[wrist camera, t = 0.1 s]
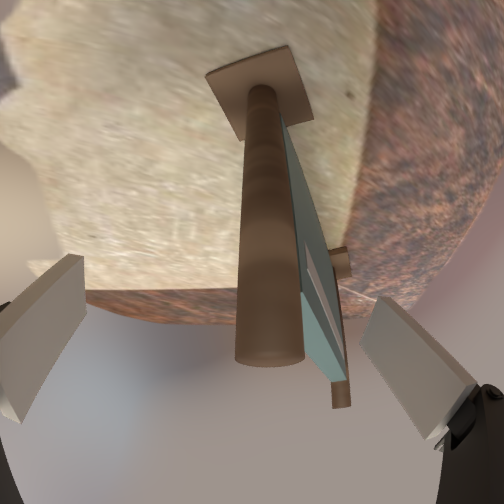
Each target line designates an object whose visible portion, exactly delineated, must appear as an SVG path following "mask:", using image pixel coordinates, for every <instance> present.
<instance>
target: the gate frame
mask: <svg viewBox="0 0 504 504" xmlns="http://www.w3.org/2000/svg"><path fill="white" fill-rule="evenodd" d="M205 78H206V80H207V82H208V84H209V86H210V87H211V89H212V91H213V93H214V95H215V96H216V98H217V100H218V102H219V104H220V106H221V107H222V109H223V111H224V113H225V115H226V117H227V119H228V121H229V122H230V124H231V126H232V128H233V130H234V132H235V134H236V136H237V138H238V139H239V141H242V140H245V150H244V167H243V185H242V204H241V224H240V245H239V266H238V289H237V314H236V341H235V360H236V361H237V362H238V363H240V364H243V365H247V366H254V367H281V366H288V365H293V364H296V363H299V362H301V361H303V360H304V359H305V350H304V333H303V319H302V305H301V293H300V281H299V269H298V259H297V249H296V239H295V229H294V220H293V211H292V203H291V194H290V186H289V178H288V171H287V163H286V156H285V149H284V142H283V135H282V128H281V122H280V115H279V113H281V116H282V118H283V121H284V123H285V126H286V127H288V126H291V125H295V124H298V123H302V122H306V121H310V120H314V117H313V113H312V110H311V107H310V104H309V101H308V98H307V95H306V92H305V89H304V87H303V84H302V81H301V78H300V75H299V73H298V70H297V67H296V64H295V62H294V59H293V57H292V54H291V51H290V49H289V47H288V46H284V47H281V48H277V49H274V50H271V51H267V52H264V53H261V54H258V55H255V56H252V57H249V58H246V59H243V60H241V61H238V62H235V63H232V64H230V65H227V66H225V67H222V68H220V69H217V70H215V71H212V72H210V73H208V74H206V76H205ZM328 253H329V256H330V260H331V263H332V267H333V274H334V280H335V286H336V293H337V300H338V307H339V314H340V322H341V330H342V338H343V347H344V357H345V367H346V378H347V380H343V381H336V382H331V389H332V390H331V392H332V408H333V409H336V408H345V407H350V406H351V397H350V384H349V372H348V362H347V352H346V344H345V335H344V327H343V319H342V312H341V305H340V298H339V291H338V285H337V280H338V279H343V278H348V277H352V274H351V268H350V263H349V257H348V252H347V247H342V248H338V249H333V250H329V251H328Z"/></svg>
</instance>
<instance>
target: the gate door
mask: <svg viewBox="0 0 504 504" xmlns="http://www.w3.org/2000/svg"><path fill="white" fill-rule="evenodd" d="M279 115H280V122H281V128H282V135H283V142H284V149H285V156H286V163H287V171H288V178H289V186H290V194H291V203H292V211H293V220H294V229H295V239H296V249H297V259H298V269H299V281H300V293H301V305H302V319H303V333H304V350H305V352H306V353H307V354H308V355H309V357H310V358H311V359H312V360H313V361H314V363H315V364H316V365H317V366H318V367H319V368H320V370H321V371H322V372H323V373H324V374H325V375H326V376H327V378H328V379H329V380H330V381H331V382H336V381H343V380H347V378H346V367H345V357H344V347H343V338H342V330H341V322H340V314H339V307H338V300H337V293H336V286H335V280H334V274H333V267H332V263H331V260H330V256H329V253H328V249H327V246H326V243H325V239H324V236H323V233H322V230H321V226H320V223H319V220H318V217H317V214H316V210H315V207H314V204H313V201H312V198H311V195H310V192H309V189H308V186H307V183H306V181H305V178H304V175H303V172H302V169H301V166H300V163H299V161H298V158H297V155H296V152H295V150H294V147H293V144H292V142H291V139H290V136H289V134H288V131H287V129H286V126H285V123H284V121H283V118H282V116H281V113H279Z"/></svg>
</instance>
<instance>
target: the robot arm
mask: <svg viewBox="0 0 504 504" xmlns="http://www.w3.org/2000/svg"><path fill="white" fill-rule="evenodd" d="M86 314H87V310H86V298H85V281H84V256H80V255H74V254H67V255H66V256H65V257H64V258H62V259H61V260H60V261H58V262H57V263H56V264H55V265H54V266H52V267H51V268H50V269H49V270H47V271H46V272H45V273H44V274H43V275H42V276H40V277H39V278H38V279H37V280H36V281H35V282H33V283H32V284H31V285H30V286H29V287H28V288H26V290H24V291H23V292H22V293H21V294H20V295H19V296H18V297H17V298H15V299H14V300H13V301H12V302H7V303H5V304H3V305H1V306H0V411H1V413H2V414H3V416H5V417H7V418H9V419H11V420H13V421H15V422H18V423H20V424H22V422H23V420H24V418H25V416H26V414H27V412H28V410H29V408H30V406H31V404H32V403H33V401H34V399H35V396H36V395H37V393H38V392H39V390H40V388H41V386H42V384H43V383H44V381H45V379H46V377H47V375H48V374H49V372H50V371H51V369H52V367H53V365H54V364H55V362H56V360H57V359H58V357H59V355H60V354H61V352H62V351H63V349H64V348H65V346H66V344H67V343H68V341H69V340H70V338H71V337H72V335H73V334H74V332H75V331H76V329H77V327H78V326H79V324H80V323H81V322H82V320H83V319H84V317H85V316H86ZM359 345H360V346H361V347H362V348H363V350H364V351H365V353H366V354H367V356H368V357H369V359H370V360H371V361H372V363H373V364H374V366H375V367H376V369H377V370H378V371H379V373H380V375H381V376H382V377H383V379H384V380H385V382H386V383H387V385H388V386H389V388H390V389H391V391H392V392H393V394H394V395H395V397H396V398H397V399H398V401H399V402H400V404H401V405H402V407H403V408H404V410H405V411H406V413H407V414H408V416H409V417H410V419H411V420H412V422H413V423H414V425H415V426H416V428H417V429H418V431H419V433H420V434H421V436H422V437H423V439H424V440H428V439H430V438H433V437H436V436H438V435H439V433H440V432H441V431H442V430H443V429H444V427H445V426H446V425H447V426H448V427H449V431H448V432H447V433H446V434H445V435H444V437H443V438H442V439H441V440H440V441H439V442H438V443H437V444H436V445H435V448H434V450H436V449H437V448H438V447H439V446H440V445H442V444H444V445H443V447H442V448H441V449H440V450H439V451H441V452H443V461H442V470H441V477H440V484H439V490H438V495H437V501H436V504H504V395H503V393H502V392H501V391H500V390H499V389H498V388H496V387H495V386H493V385H489V384H484V385H483V386H482V387H480V386H479V385H478V384H477V381H476V380H475V379H474V378H473V377H472V376H471V375H470V374H469V373H468V372H467V371H466V370H465V369H464V368H463V367H462V366H461V365H460V364H459V362H457V360H456V359H455V358H454V357H453V356H452V355H451V354H450V353H449V352H448V351H447V350H446V349H445V348H444V347H443V346H442V345H440V343H439V342H437V341H436V340H435V339H434V338H433V337H432V336H431V335H430V334H429V333H428V332H427V331H426V330H425V329H424V328H423V327H422V326H421V325H420V324H419V323H418V322H417V321H416V320H415V319H413V318H412V317H411V316H410V315H409V314H408V313H407V312H406V311H405V310H404V309H403V308H402V307H401V306H399V305H398V304H397V303H396V302H395V301H394V300H393V299H392V298H391V297H382V296H378V299H377V301H376V304H375V307H374V309H373V312H372V314H371V317H370V319H369V322H368V324H367V326H366V329H365V332H364V334H363V336H362V338H361V341H360V343H359ZM0 504H24V503H23V500H22V498H21V496H20V494H19V491H18V489H17V486H16V484H15V481H14V479H13V476H12V473H11V470H10V468H9V465H8V462H7V459H6V455H5V452H4V449H3V445H2V442H1V438H0Z"/></svg>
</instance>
